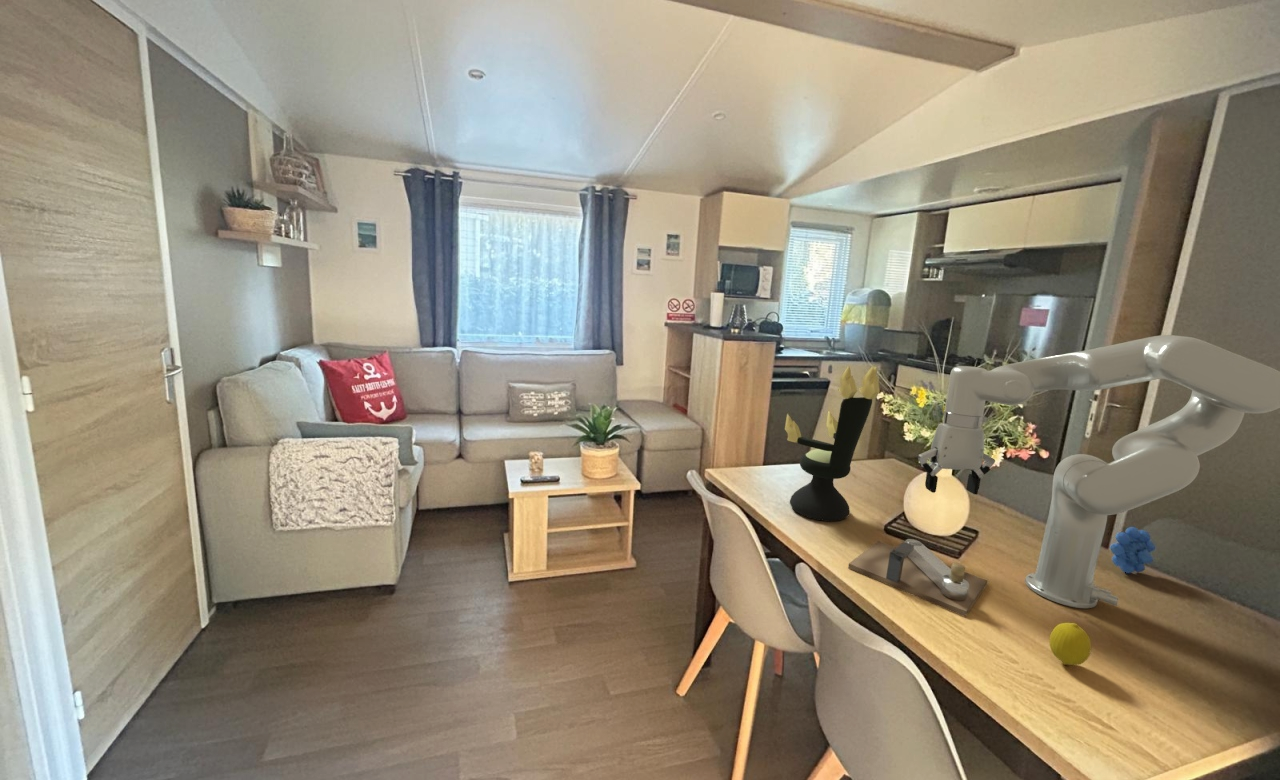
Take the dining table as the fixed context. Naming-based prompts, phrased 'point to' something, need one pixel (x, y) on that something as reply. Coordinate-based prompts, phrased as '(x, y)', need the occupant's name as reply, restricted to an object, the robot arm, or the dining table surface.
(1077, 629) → the lemon
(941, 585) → the bolt
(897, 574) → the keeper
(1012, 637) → the dining table surface
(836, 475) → the black toy throne
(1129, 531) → the grapes
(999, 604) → the dining table surface
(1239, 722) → the dining table surface
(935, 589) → the base board
